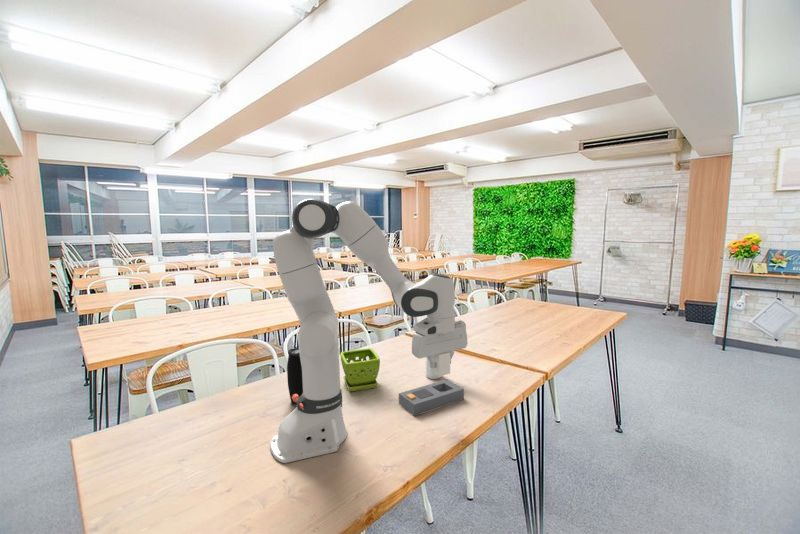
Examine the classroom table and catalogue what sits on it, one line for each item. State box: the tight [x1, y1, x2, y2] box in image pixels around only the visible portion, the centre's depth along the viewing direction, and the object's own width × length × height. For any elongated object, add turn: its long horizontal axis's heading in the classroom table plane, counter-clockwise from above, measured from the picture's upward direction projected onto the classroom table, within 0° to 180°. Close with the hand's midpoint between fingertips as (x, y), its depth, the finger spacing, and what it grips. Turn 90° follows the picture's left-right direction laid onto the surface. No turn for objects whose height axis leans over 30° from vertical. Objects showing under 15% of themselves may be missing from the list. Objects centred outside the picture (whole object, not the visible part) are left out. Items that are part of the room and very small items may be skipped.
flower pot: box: [339, 347, 381, 392], centre depth 146 cm, size 14×14×13 cm
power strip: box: [398, 378, 465, 417], centre depth 132 cm, size 22×10×5 cm, turn 121°
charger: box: [431, 352, 451, 377], centre depth 117 cm, size 4×4×7 cm
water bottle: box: [424, 357, 442, 380], centre depth 154 cm, size 9×6×25 cm
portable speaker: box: [286, 347, 303, 406], centre depth 133 cm, size 9×9×20 cm
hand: (440, 365), depth 117 cm, fingers closed on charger, 4 cm apart
